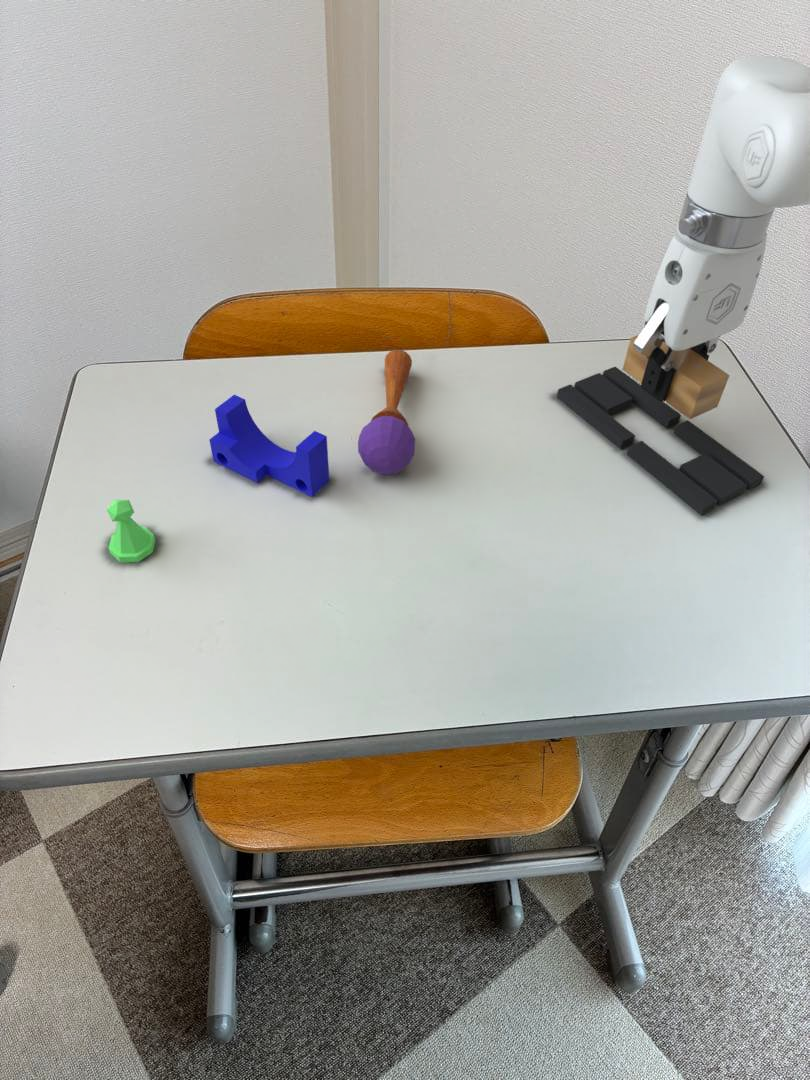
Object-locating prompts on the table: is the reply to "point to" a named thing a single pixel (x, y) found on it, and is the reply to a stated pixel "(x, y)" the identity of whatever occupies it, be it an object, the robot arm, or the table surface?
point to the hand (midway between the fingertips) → (669, 385)
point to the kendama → (389, 423)
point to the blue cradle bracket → (267, 451)
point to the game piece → (128, 534)
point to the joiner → (684, 380)
